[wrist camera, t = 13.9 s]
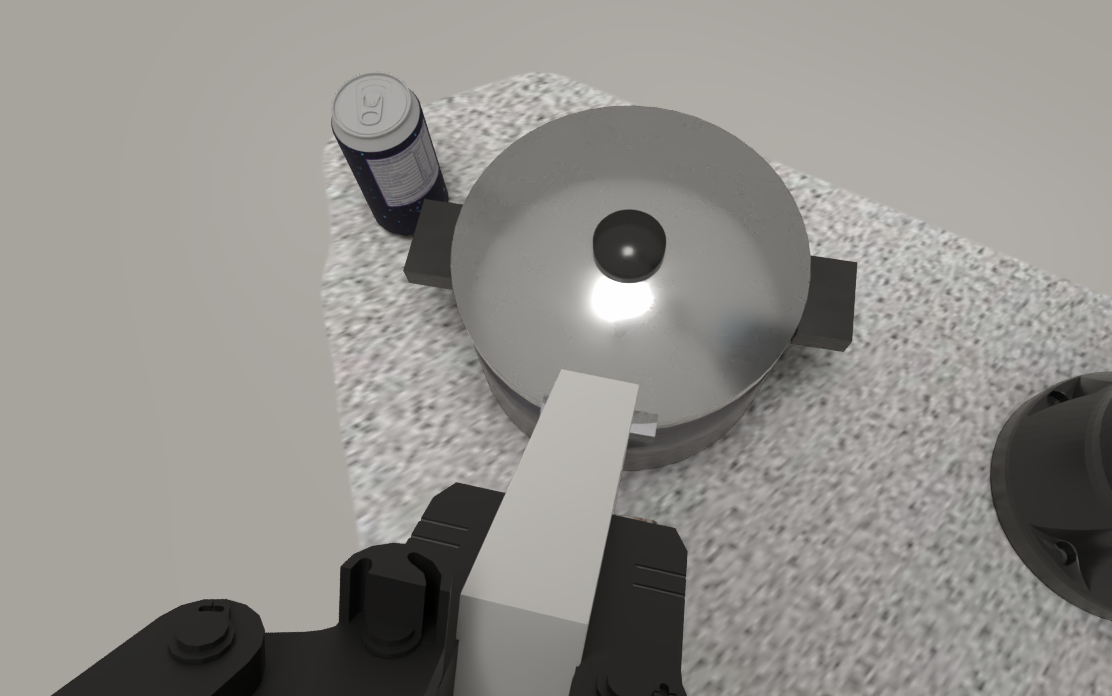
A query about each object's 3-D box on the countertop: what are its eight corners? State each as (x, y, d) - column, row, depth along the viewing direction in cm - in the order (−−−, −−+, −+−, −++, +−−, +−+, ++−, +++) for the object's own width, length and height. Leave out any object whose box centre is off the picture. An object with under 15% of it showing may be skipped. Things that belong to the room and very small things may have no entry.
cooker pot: (823, 231, 57) (867, 147, 48) (800, 505, 50) (847, 469, 41) (473, 181, 60) (451, 93, 51) (405, 433, 53) (365, 384, 44)
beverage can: (452, 175, 61) (420, 65, 49) (447, 240, 59) (413, 141, 47) (378, 176, 61) (330, 66, 50) (371, 241, 59) (319, 142, 48)
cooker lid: (818, 141, 48) (829, 115, 46) (789, 466, 41) (800, 455, 39) (496, 99, 50) (491, 73, 48) (414, 400, 43) (404, 386, 41)
